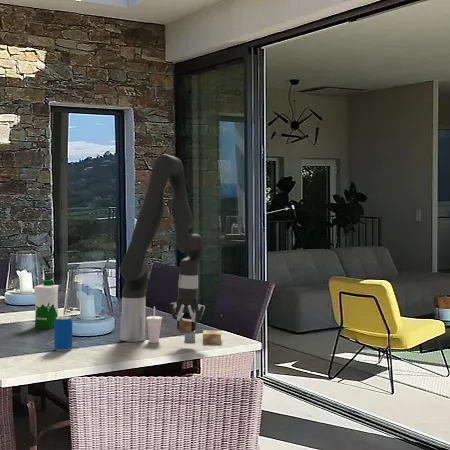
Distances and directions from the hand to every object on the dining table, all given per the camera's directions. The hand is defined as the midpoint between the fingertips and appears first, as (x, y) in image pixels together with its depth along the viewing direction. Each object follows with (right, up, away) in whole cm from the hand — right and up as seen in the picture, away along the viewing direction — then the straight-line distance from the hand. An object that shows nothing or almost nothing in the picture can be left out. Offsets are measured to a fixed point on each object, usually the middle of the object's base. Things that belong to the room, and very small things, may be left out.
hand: (186, 330), depth 255 cm
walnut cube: (0, 0, 0) cm, 0 cm away
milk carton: (-62, -4, +33) cm, 71 cm away
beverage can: (-45, -6, -7) cm, 46 cm away
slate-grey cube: (+1, -6, +11) cm, 13 cm away
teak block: (+10, -6, +10) cm, 15 cm away
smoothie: (-13, -6, +8) cm, 16 cm away
